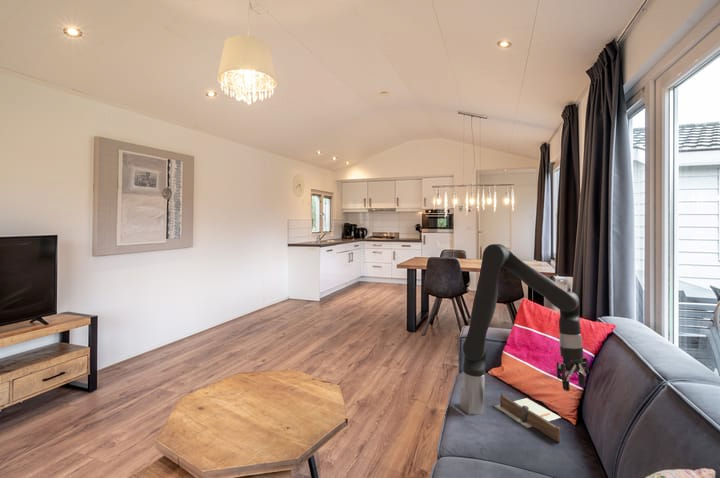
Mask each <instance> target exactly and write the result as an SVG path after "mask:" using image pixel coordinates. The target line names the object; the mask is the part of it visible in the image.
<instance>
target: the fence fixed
mask: <svg viewBox="0 0 720 478" xmlns="http://www.w3.org/2000/svg"><path fill="white" fill-rule="evenodd" d="M499 399H500V401H499V405H500V407H502V408H504V409H505V410H507V411H508V412H510V413H512V414H513V415H515V416H516V417H518V418H519V419H522V421H523V422H527V413H528V411H529V407H527V406H520V405H519V404H517V403H515V402H514V401H515V400H512V399H510V398H508V397H507V396H505V394H504V393H500V397H499Z"/></svg>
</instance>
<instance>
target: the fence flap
mask: <svg viewBox="0 0 720 478" xmlns="http://www.w3.org/2000/svg"><path fill="white" fill-rule="evenodd" d="M527 423H528V424H530V425H532V427H533V428H535V429H536V430H538V431H539V432H541V433H543V434H544V435H546V436H548V437H549V438H551V439H552V440H554V441H555V442H556V443H560V441H561V426H557V425H555V424H553V423H552V422H551V421H547V420H545V419H543V418H542V417H540V416H538V415H537V414H535V413H533V412H532V411H530V410H529V411H528V413H527Z"/></svg>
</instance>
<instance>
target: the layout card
mask: <svg viewBox="0 0 720 478" xmlns="http://www.w3.org/2000/svg"><path fill="white" fill-rule="evenodd" d="M513 401H514V402H515V403H517V404H519V405H520V406H527V407H529V410H530V411H532V412H533V413H535V414H537V415H538V416H540V417H542V418H543V419H545V420H547V421H548V422H551V421H554V420H557V419H561V418H562V417H561V416H560V415H558V414H556V413H554V412H552V411H551V410H549V409H547V408H546V407H544V406H542V405H540V404H538V403H536V402H534V401H533V400H531V399H529V398H528V397H526V398H522V399H517V400H513ZM494 407H495V408H496V409H498V410H499V411H501V412H502V413H504V414H506V415H507V416H508V417H510V418H512V419H513V420H515V421H516V422H518V423H519V424H521V425H523V426H524V427H525V428H527V429H528V428H532V427H533V426H532V425H530V424H528V423H527V422H523V421H522V419H519V418H518V417H516V416H515V415H513V414H512V413H510V412H508V411H507V410H505V409H504V408H502V407H500V404H497V405H494Z"/></svg>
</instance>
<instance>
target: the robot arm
mask: <svg viewBox="0 0 720 478" xmlns="http://www.w3.org/2000/svg"><path fill="white" fill-rule="evenodd" d="M481 258H482V259H481V268H480V274H479V278H478V281H477V284H476V285H477V286H476V289H475V294H474V297H473V301H472V308H471V315H470V322H469V328H468V331H467V334H466V336H465V340H464V342H463V345H462V352H463V354H464V359H463V360H464V361H463V365H462V387H460V400H459V402H460V403H459V409H461V410H462V411H463V412H465V413H466V414H467V415H474V416H475V415H482V414H483V413H484V409H485V408H484V405H485V376H486V364H487V342H486V338H487V333H488V329H489V327H490V325H491V322H492V319H493V317H494V314H495V310H496V306H497V301H498V298H499V297H498V296H499V293H498V292H499V291H498V280H499V279H498V277H499V274H500V271H501V267H502V268H504V269H506V270H507V271H509V272H511V273H512V274H514V275H515V276H516V277H518V279H520V281H522V282H523V283H524V284H526V286H527V287H529V288H530V289H531V290H533V291H535V292H537V294H540V295H541V296H543V297H544V298H545V299H546V300H547V301H548V302H549V303H550V304H552V305H553V306H554V307H555V308H557V309H558V310H559V314H560V315H559V319H558V328H559V329H558V331H559V335H558V336H559V338H558V339H559V351H560V352H559V353H560V357H561V358H562V362H557V363H556V378H557V379H558V380H561V382H562V383H561V384H562V389H563V390H564V391H566V392H570V391H571V389H570V381H569V380H570V379H571V377H572V376H573V374H575V373H577V374H578V375H577V381H578V386H581V387H586V376H587V375H588V374H589V373H590V369H589V361H588V358H587V357H584V347H583V346H584V345H583V338H582V330H581V323H580V314H581V313H580V311H581V309H580V307H581V306H580V299H579V297H578V295H577V294H576V293H575V292H573V291H569V290H568V291H565V290H564V289H563V288H560V287H559V286H558V284H557V283H556V282H555V281H554V280H552V279H550V278H549V277H548V276H546V275H545V274H543V273H541V272H539V271H538V270H536V269H534V267H531V265H528V263H527V264H526V263H525V262H524V261H523V260H521V259H520V258H518V256H516V255H515V253H513V252H512V251H511V250H510V249H508V248H507V247H506V246H505V245H503V244H499V243H494V244H489V245H487V246H486V247H485V248H484V250H483V252H482V257H481Z"/></svg>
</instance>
